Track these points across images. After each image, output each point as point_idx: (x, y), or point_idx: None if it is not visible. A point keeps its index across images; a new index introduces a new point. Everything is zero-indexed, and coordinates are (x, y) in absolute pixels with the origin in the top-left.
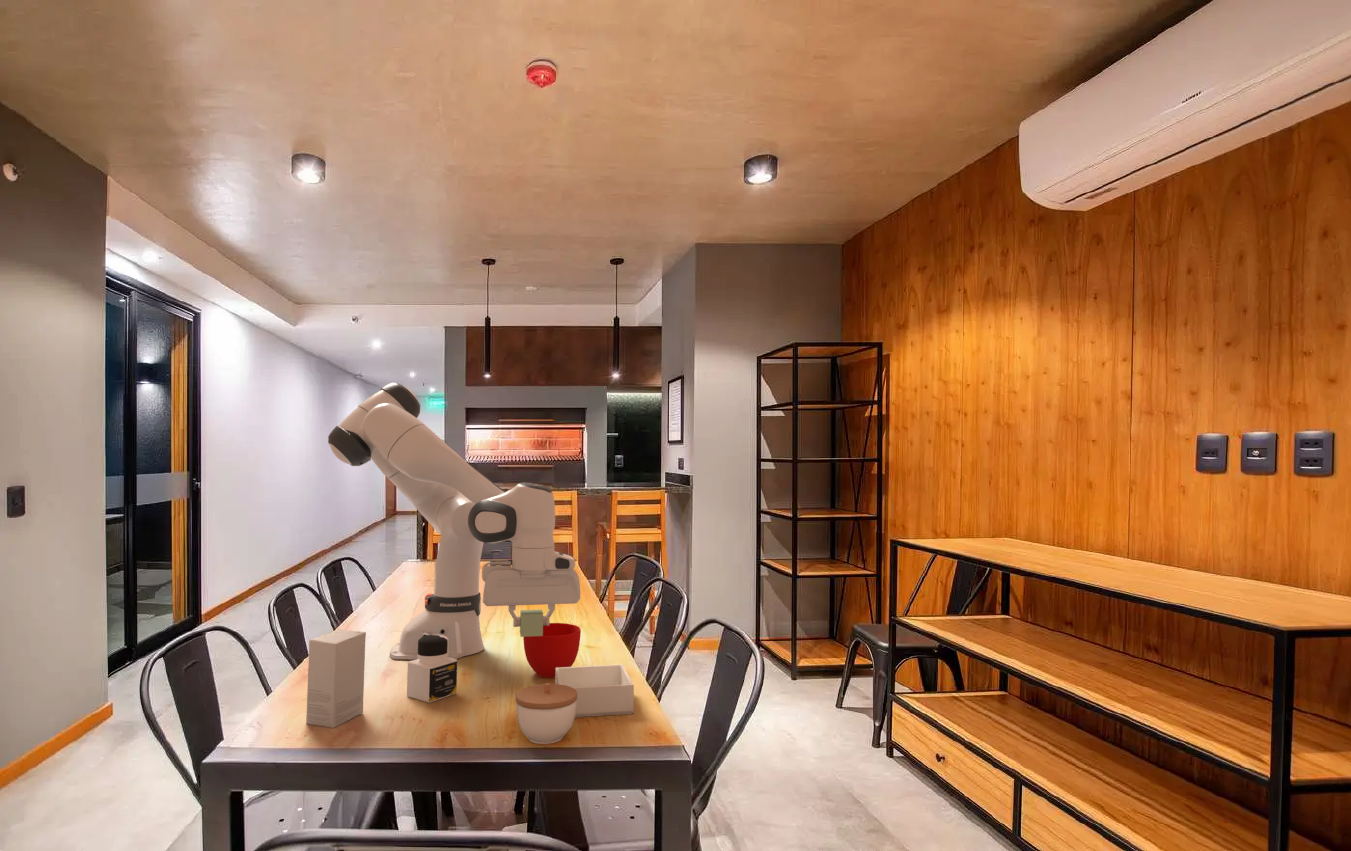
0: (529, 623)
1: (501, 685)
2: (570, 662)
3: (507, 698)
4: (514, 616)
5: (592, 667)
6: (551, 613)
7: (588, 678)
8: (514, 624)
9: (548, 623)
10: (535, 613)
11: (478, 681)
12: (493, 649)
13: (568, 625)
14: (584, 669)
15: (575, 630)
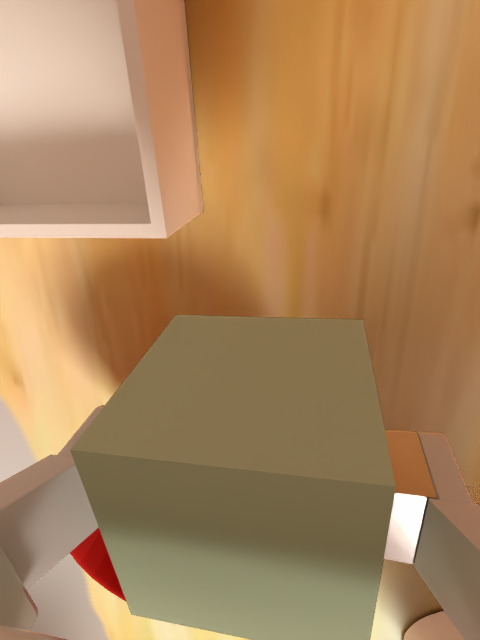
0: (272, 384)
1: (395, 348)
2: None
3: (392, 192)
4: (475, 526)
5: (8, 224)
6: (8, 485)
7: (54, 213)
8: (440, 443)
9: (98, 411)
10: (177, 500)
11: (473, 406)
12: (377, 623)
13: (121, 588)
14: (45, 222)
15: (96, 549)
